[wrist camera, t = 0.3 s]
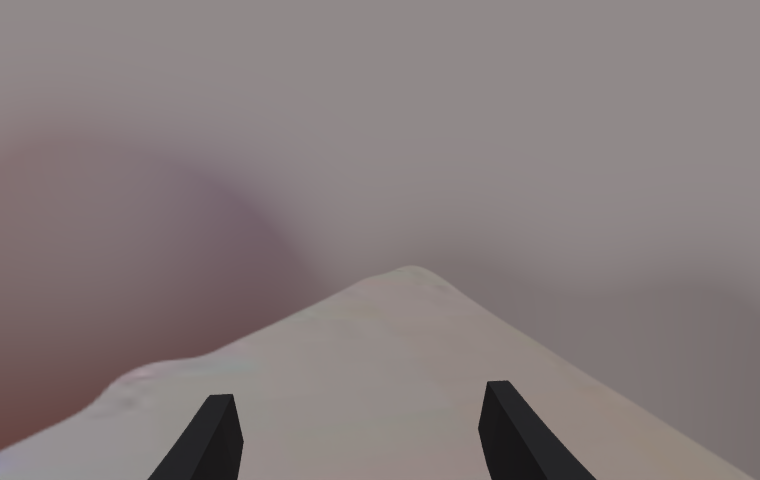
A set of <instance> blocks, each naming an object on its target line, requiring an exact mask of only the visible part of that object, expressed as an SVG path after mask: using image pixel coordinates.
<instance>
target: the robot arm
mask: <svg viewBox="0 0 760 480" xmlns="http://www.w3.org/2000/svg"><path fill="white" fill-rule="evenodd" d="M478 430H479V435H480V439H481V443H482V448H483V452H484V456H485V460H486V464H487V467H488V470H489V473H490V476H491V479H492V480H596V479H595V478H594V477H593V476H592V475H591V474H590V472H589V471H588V470H587V469H586V468H585V467H584V466H583V465H582V464H581V463H580V462H579V461H578V460H577V459H576V458H575V457H574V456H573V455H572V454H571V453H570V452H569V450H568V449H567V448H566V447H565V446H564V445H563V444H562V443H561V442H560V440H559V439H558V438H557V437H556V436H555V435H554V434H553V433H552V432H551V430H550V429H549V428H548V427H547V426H546V425H545V424H544V422H543V421H542V420H541V419H540V418H539V417H538V415H537V414H536V413H535V412H534V411H533V409H532V408H531V407H530V406H529V405H528V404H527V402H526V401H525V400H524V399H523V397H522V396H521V395H520V394H519V393H518V391H517V390H516V389H515V388H514V387H513V385H512V384H511V383H510V382H509V381H488V382H487V386H486V391H485V396H484V401H483V406H482V411H481V416H480V421H479V426H478ZM243 443H244V441H243V437H242V432H241V428H240V423H239V419H238V414H237V410H236V406H235V401H234V397H233V394H222V395H210V396H209V397H208V398H207V399H206V400H205V402H204V403H203V405H202V406H201V408H200V409H199V410H198V412H197V413H196V415H195V416H194V418H193V419H192V421H191V422H190V423H189V425H188V426H187V428H186V429H185V431H184V432H183V433H182V435H181V436H180V437H179V439H178V440H177V442H176V443H175V444H174V446H173V447H172V448H171V450H170V451H169V452H168V454H167V455H166V456H165V458H164V459H163V460H162V462H161V463H160V464H159V466H158V467H157V468H156V469H155V471H154V472H153V473H152V475H151V476H150V477H149V478H148V480H237V478H238V473H239V467H240V461H241V455H242V449H243Z"/></svg>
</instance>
